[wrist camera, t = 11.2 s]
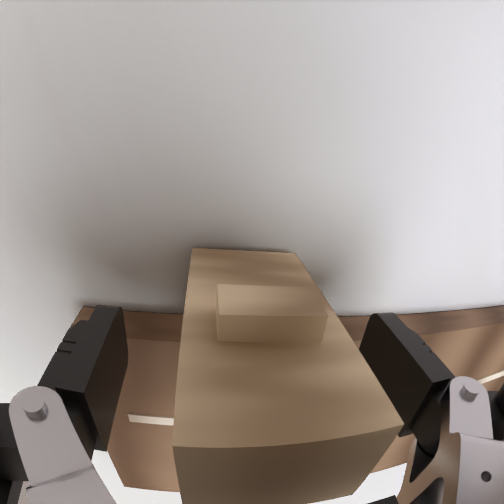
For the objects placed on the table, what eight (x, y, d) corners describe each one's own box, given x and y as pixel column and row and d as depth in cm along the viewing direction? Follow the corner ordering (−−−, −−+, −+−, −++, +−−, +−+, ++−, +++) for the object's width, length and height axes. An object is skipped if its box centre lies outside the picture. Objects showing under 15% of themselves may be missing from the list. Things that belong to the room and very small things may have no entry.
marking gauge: (297, 236, 12) (420, 397, 4) (267, 404, 15) (301, 547, 8) (193, 230, 12) (167, 419, 4) (191, 404, 15) (194, 555, 7)
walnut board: (537, 301, 17) (552, 312, 16) (471, 419, 22) (481, 432, 20) (83, 306, 13) (67, 332, 11) (127, 464, 18) (124, 487, 16)
